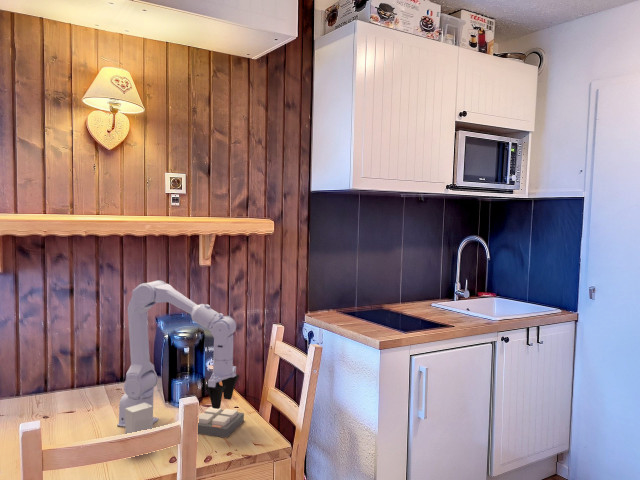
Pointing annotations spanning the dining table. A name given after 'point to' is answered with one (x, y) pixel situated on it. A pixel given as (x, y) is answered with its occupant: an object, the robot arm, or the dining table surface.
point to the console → (220, 430)
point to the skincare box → (138, 418)
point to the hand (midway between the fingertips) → (222, 403)
